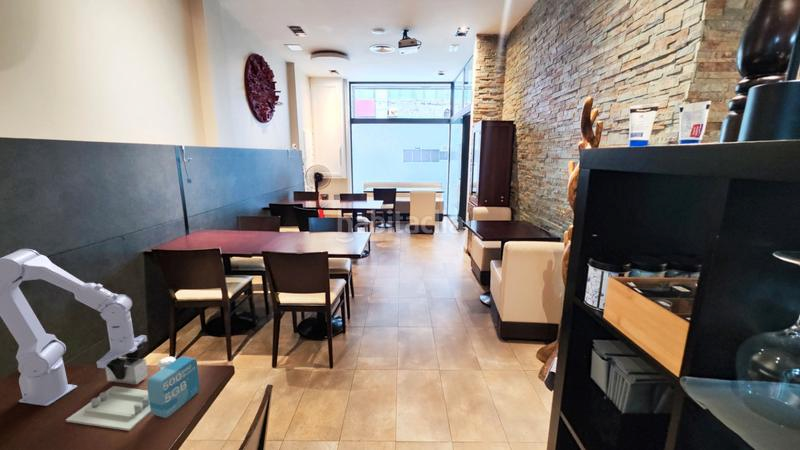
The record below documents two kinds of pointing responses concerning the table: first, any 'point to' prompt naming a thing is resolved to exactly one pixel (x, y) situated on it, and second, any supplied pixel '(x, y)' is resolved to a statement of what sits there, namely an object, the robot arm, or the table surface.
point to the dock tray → (115, 409)
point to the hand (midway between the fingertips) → (127, 373)
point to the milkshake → (166, 362)
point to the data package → (173, 386)
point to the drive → (130, 371)
